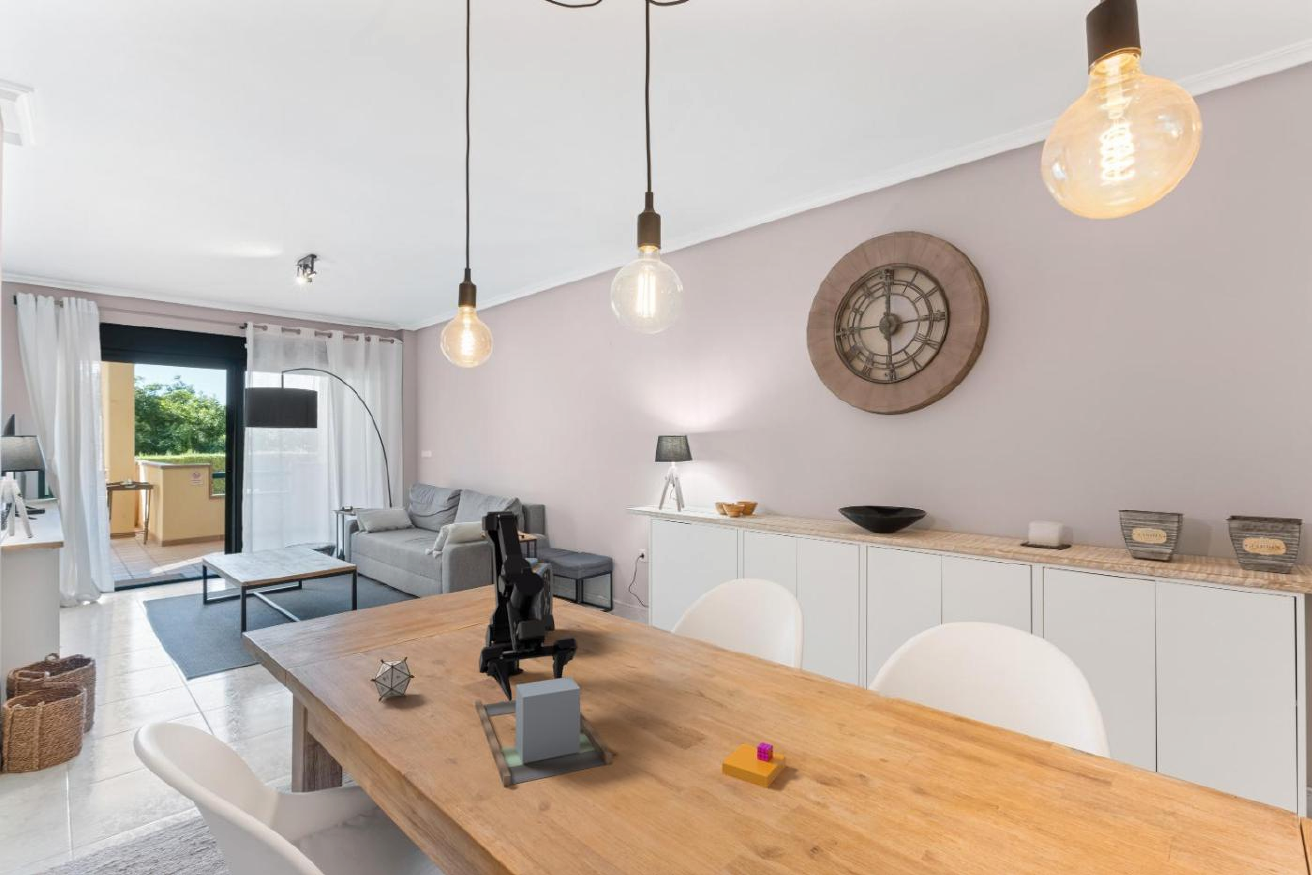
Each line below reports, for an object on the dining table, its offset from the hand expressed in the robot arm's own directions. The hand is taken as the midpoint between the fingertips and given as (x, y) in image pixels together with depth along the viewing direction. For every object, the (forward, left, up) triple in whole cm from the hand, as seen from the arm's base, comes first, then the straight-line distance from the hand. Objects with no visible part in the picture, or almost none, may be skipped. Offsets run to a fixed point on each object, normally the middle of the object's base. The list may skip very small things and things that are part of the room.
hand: (535, 695), depth 117 cm
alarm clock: (-37, -45, -6) cm, 59 cm away
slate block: (+5, +9, -6) cm, 12 cm away
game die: (+9, -35, -6) cm, 37 cm away
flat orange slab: (-13, +40, -7) cm, 43 cm away
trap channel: (+1, +2, -6) cm, 6 cm away
